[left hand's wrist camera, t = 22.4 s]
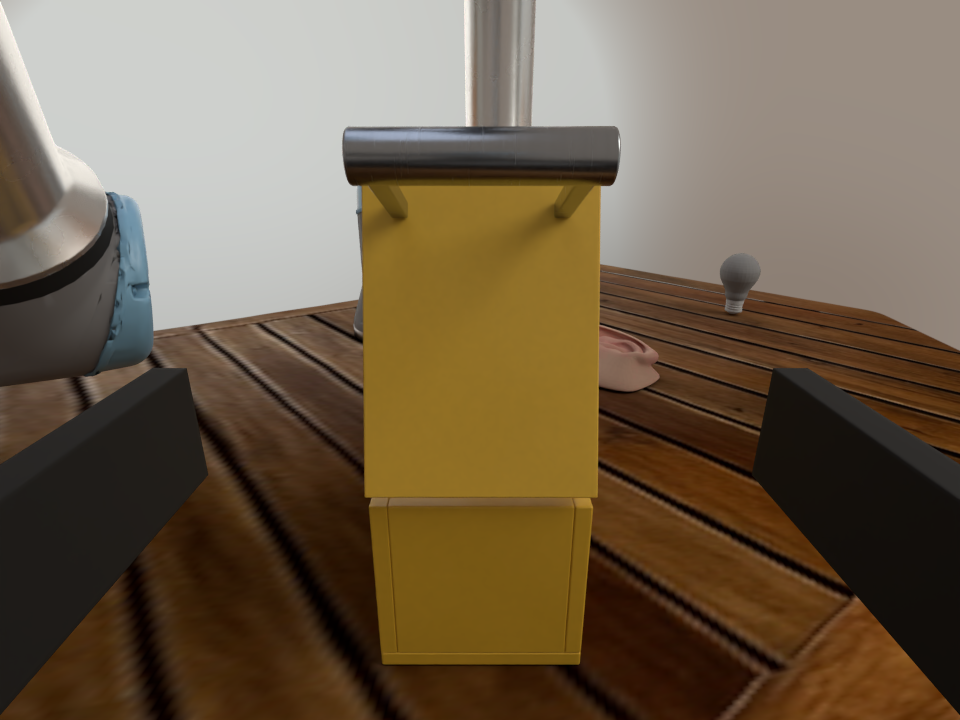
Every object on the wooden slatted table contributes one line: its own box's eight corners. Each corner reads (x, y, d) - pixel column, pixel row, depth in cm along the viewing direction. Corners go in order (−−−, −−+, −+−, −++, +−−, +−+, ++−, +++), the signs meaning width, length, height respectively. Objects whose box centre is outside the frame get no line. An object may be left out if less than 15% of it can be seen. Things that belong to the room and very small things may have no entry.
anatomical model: (658, 362, 57) (553, 349, 61) (654, 397, 59) (551, 381, 63) (668, 329, 69) (579, 319, 73) (664, 358, 70) (577, 347, 74)
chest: (413, 501, 41) (408, 385, 38) (547, 501, 41) (553, 385, 38) (382, 665, 28) (368, 507, 24) (579, 665, 28) (593, 507, 24)
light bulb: (719, 317, 88) (729, 256, 85) (709, 308, 94) (718, 250, 90) (758, 318, 88) (769, 256, 84) (745, 309, 93) (755, 251, 90)
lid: (367, 165, 24) (300, 64, 15) (594, 165, 24) (662, 64, 15) (370, 489, 25) (307, 577, 16) (591, 489, 25) (654, 577, 16)
